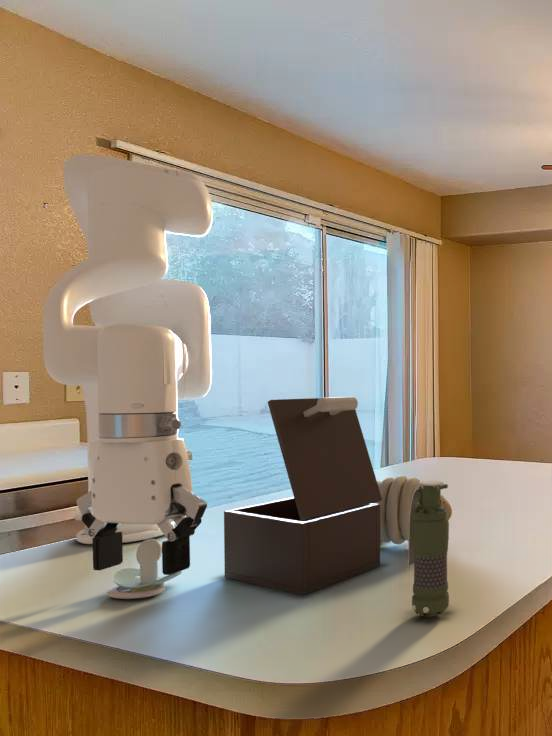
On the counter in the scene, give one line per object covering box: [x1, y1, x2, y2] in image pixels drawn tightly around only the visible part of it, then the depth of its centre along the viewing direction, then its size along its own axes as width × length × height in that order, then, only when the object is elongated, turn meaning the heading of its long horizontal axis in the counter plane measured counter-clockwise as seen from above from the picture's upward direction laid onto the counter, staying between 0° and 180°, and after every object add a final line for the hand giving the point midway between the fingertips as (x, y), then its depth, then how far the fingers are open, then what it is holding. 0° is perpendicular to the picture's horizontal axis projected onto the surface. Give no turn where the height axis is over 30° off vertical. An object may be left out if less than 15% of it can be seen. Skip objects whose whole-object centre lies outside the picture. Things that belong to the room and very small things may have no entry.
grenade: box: [408, 480, 450, 618], centre depth 66 cm, size 4×4×15 cm
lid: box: [267, 396, 382, 521], centre depth 77 cm, size 15×13×5 cm
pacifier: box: [106, 538, 182, 600], centre depth 72 cm, size 7×6×6 cm
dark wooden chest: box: [223, 496, 381, 596], centre depth 80 cm, size 15×13×9 cm
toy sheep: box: [375, 475, 453, 545], centre depth 93 cm, size 11×17×11 cm, turn 98°
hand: (142, 569), depth 72 cm, fingers open, 9 cm apart
